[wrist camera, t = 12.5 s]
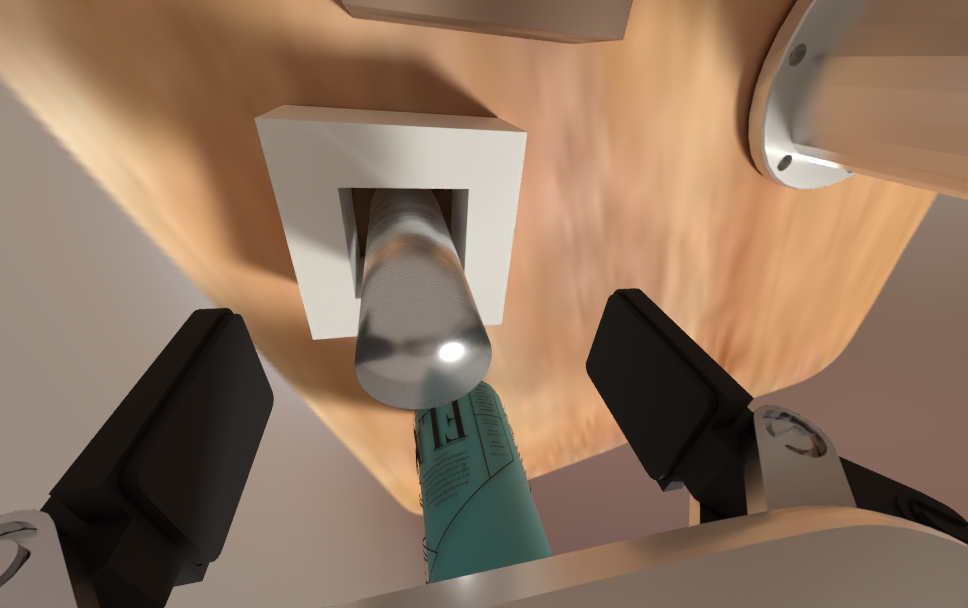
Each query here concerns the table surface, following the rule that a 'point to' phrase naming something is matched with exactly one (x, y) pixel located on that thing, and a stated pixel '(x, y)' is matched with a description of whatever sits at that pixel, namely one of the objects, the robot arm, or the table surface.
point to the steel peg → (416, 307)
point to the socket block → (507, 17)
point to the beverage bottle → (474, 489)
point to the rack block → (389, 164)
